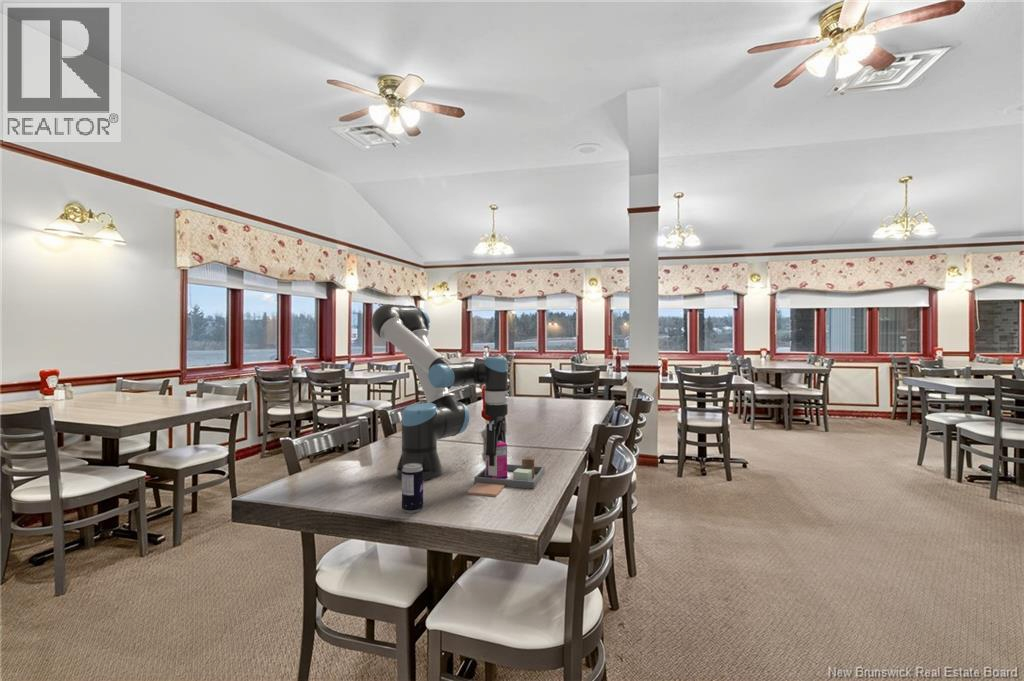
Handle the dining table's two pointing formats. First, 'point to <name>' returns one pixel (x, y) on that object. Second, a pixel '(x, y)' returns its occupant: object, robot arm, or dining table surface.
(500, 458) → the supplement box
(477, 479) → the bin
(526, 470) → the pale green box
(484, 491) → the pad
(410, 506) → the beverage can
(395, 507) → the dining table surface
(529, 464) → the walnut block
